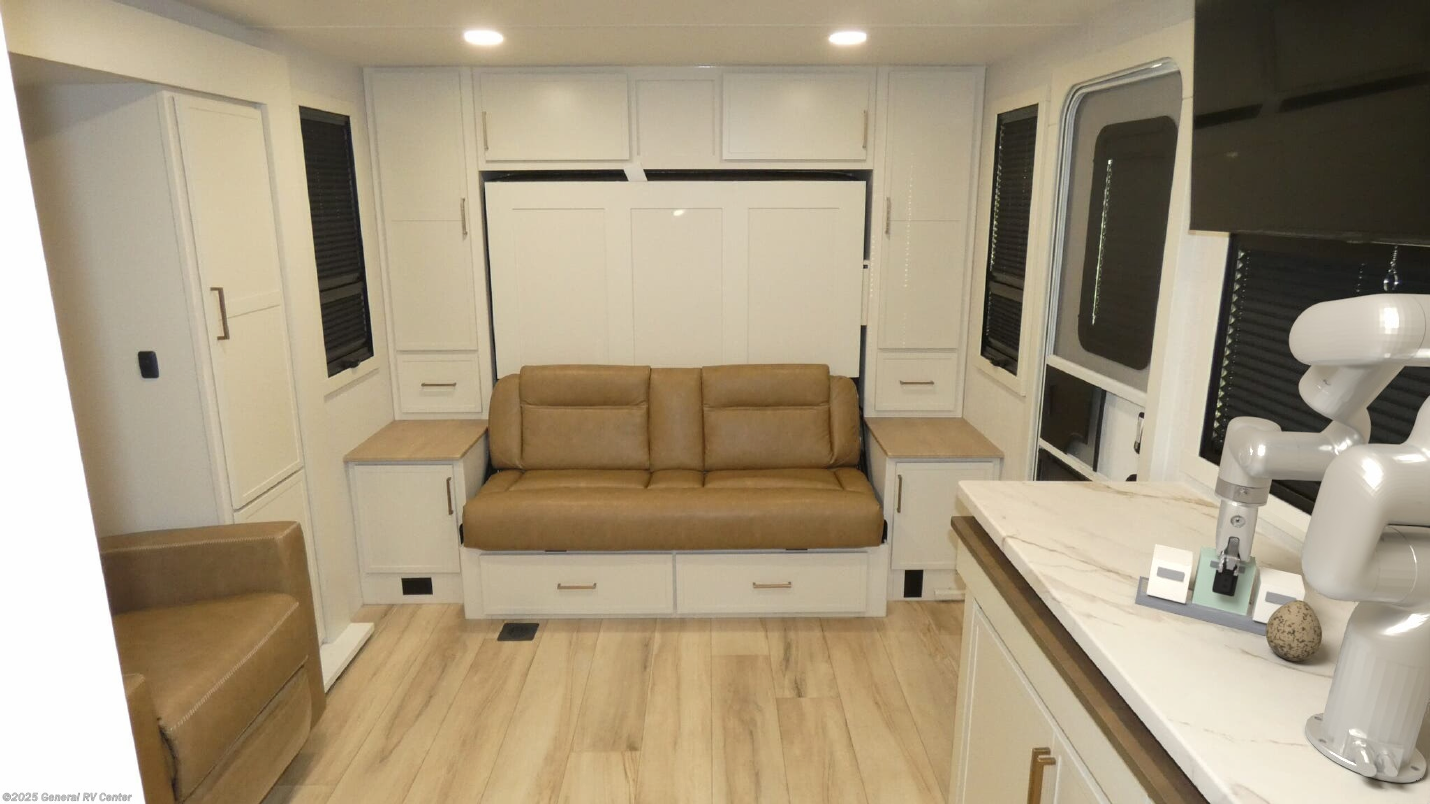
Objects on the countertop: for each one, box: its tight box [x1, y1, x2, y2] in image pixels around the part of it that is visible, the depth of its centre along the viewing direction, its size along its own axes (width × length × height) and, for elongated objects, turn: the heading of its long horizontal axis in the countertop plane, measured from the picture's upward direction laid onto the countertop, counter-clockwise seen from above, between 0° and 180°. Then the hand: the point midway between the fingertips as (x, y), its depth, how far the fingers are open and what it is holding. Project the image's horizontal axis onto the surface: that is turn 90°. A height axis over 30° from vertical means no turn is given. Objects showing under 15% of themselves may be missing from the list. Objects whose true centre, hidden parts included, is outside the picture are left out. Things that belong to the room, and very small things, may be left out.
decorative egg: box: [1265, 600, 1323, 662], centre depth 126 cm, size 7×7×10 cm
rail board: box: [1134, 543, 1306, 637], centre depth 140 cm, size 10×25×9 cm, turn 59°
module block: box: [1192, 545, 1257, 615], centre depth 139 cm, size 5×8×9 cm, turn 60°
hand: (1222, 582), depth 140 cm, fingers open, 9 cm apart
